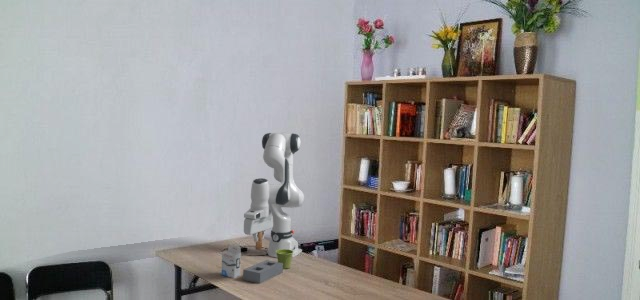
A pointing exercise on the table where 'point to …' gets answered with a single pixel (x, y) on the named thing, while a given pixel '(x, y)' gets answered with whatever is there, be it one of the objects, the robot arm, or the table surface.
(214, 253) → the table surface
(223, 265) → the ink box
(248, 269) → the hole block
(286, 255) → the plant pot
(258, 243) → the peg
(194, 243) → the table surface
